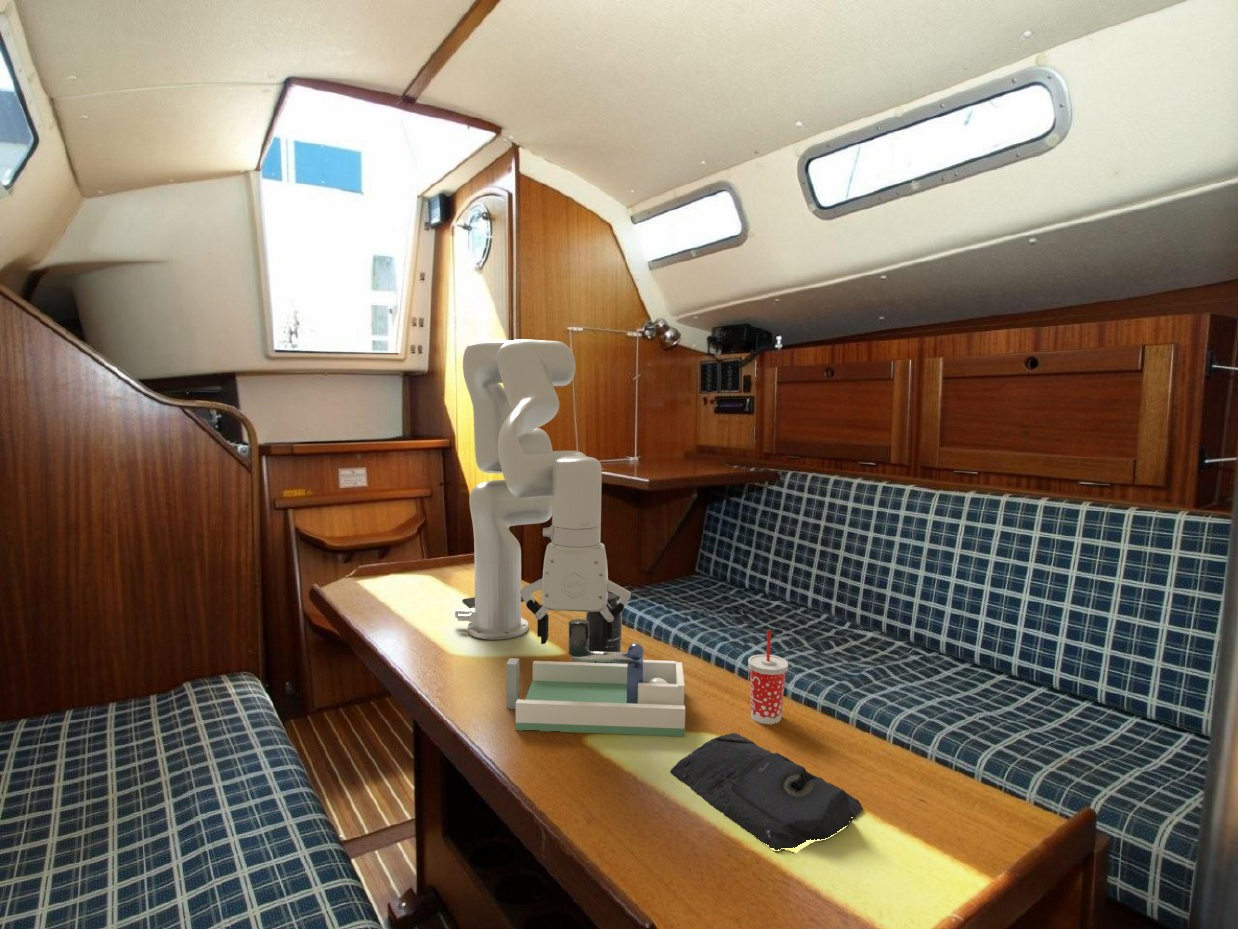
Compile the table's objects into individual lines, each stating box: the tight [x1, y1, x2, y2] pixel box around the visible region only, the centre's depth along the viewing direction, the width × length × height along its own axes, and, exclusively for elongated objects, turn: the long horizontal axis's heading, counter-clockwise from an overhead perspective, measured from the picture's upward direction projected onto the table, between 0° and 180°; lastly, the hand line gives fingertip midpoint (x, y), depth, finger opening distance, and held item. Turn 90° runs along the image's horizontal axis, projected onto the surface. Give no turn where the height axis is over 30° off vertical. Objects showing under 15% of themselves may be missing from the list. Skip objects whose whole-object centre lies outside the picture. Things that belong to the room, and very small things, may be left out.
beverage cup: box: [747, 629, 789, 725], centre depth 106 cm, size 6×6×14 cm
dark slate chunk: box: [669, 732, 864, 850], centre depth 87 cm, size 15×22×5 cm
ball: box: [648, 678, 668, 684], centre depth 108 cm, size 4×4×4 cm
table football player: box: [568, 618, 645, 704], centre depth 108 cm, size 12×6×12 cm, turn 87°
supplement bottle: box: [585, 592, 623, 663], centre depth 129 cm, size 7×7×12 cm
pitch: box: [505, 657, 686, 737], centre depth 108 cm, size 28×16×7 cm, turn 87°
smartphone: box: [461, 596, 525, 610], centre depth 164 cm, size 7×1×15 cm
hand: (574, 642), depth 108 cm, fingers open, 9 cm apart
